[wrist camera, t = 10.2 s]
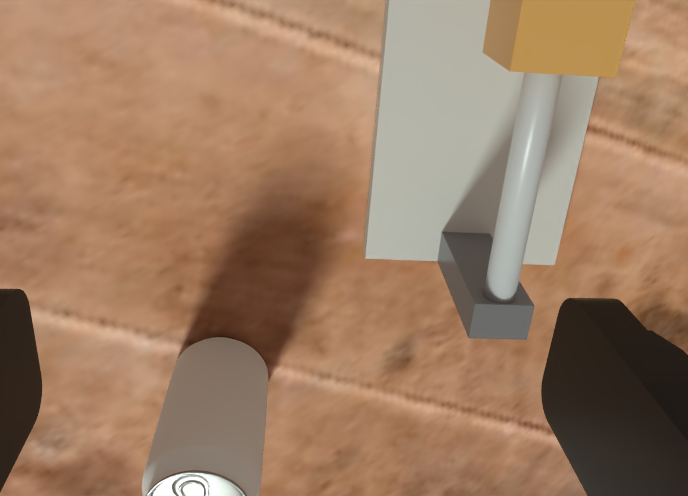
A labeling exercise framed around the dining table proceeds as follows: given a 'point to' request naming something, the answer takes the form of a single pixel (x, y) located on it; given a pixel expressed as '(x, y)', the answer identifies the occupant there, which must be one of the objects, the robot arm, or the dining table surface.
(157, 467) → the can
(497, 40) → the sleeve
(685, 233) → the dining table surface
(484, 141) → the cable stand
